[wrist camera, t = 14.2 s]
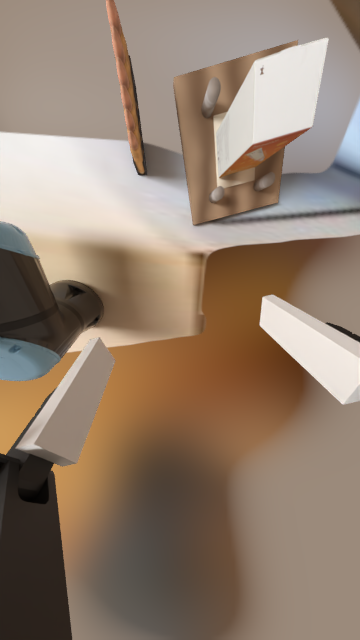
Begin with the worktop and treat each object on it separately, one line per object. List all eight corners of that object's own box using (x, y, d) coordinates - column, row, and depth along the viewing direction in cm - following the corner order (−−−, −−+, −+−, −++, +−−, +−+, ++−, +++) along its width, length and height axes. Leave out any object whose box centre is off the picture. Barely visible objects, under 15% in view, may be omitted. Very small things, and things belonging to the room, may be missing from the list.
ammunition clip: (147, 174, 29) (138, 142, 19) (138, 175, 29) (124, 143, 19) (135, 85, 23) (114, -31, 13) (124, 85, 23) (94, -31, 13)
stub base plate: (193, 225, 34) (197, 223, 30) (173, 85, 24) (175, 49, 19) (273, 203, 34) (291, 198, 29) (290, 50, 23) (322, 4, 18)
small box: (218, 179, 29) (251, 145, 18) (215, 132, 26) (254, 56, 15) (256, 167, 29) (314, 127, 18) (258, 119, 25) (331, 31, 14)
